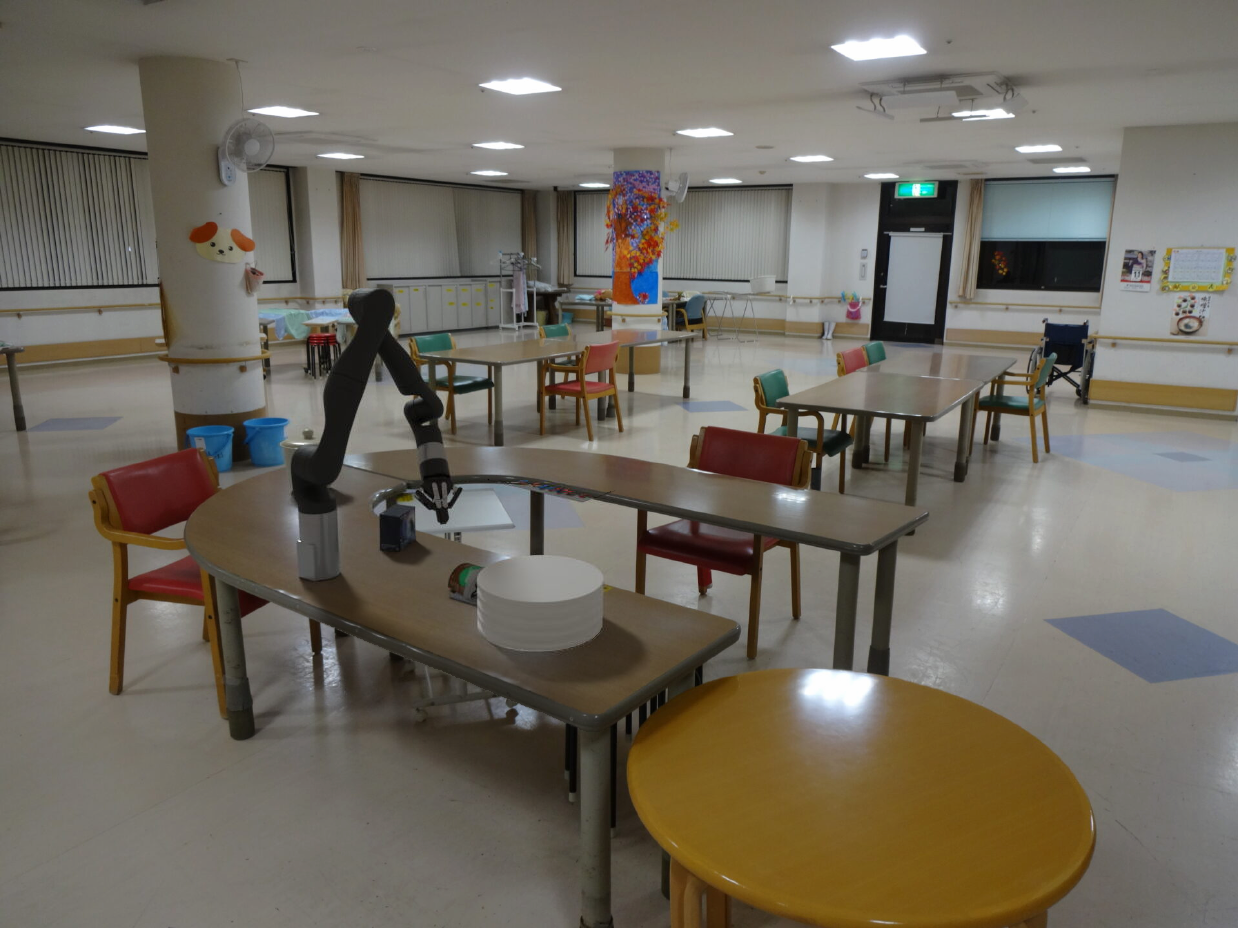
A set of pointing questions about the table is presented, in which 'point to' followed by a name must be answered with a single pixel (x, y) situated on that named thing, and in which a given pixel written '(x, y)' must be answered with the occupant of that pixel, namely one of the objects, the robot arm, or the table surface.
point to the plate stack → (540, 602)
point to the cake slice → (465, 579)
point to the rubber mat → (460, 598)
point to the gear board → (551, 491)
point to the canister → (293, 444)
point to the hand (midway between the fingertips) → (444, 523)
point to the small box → (397, 527)
